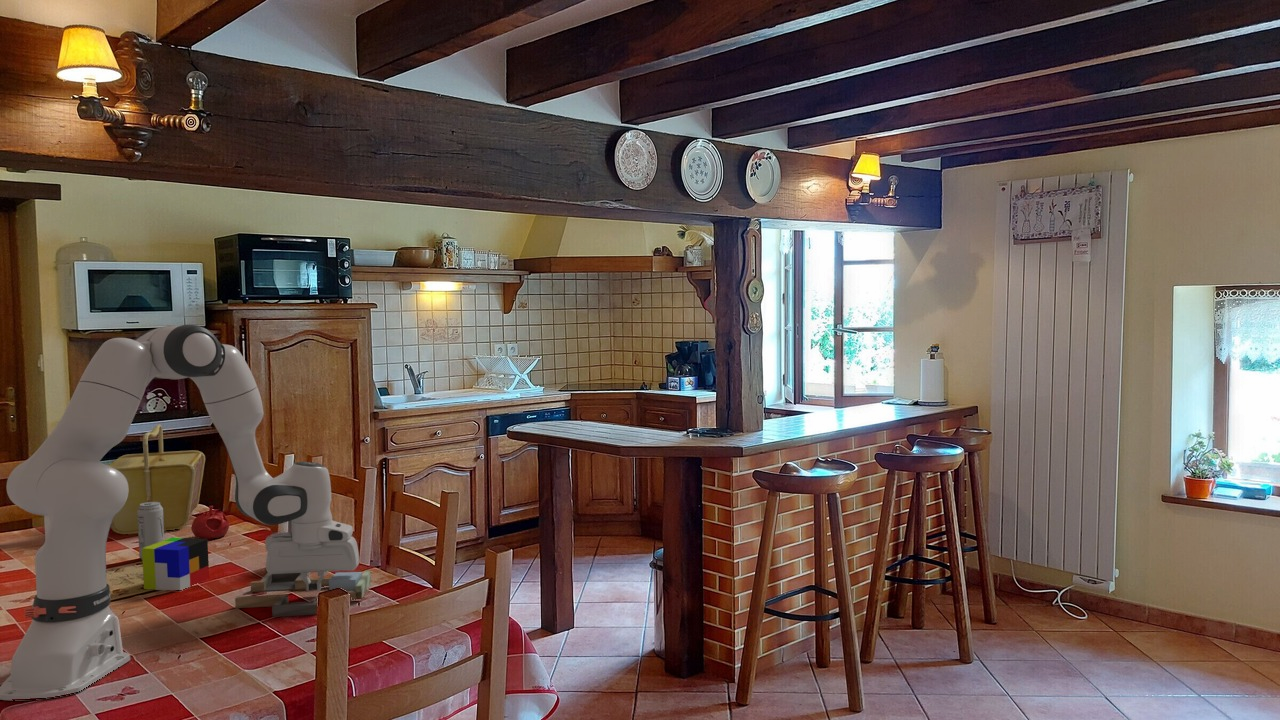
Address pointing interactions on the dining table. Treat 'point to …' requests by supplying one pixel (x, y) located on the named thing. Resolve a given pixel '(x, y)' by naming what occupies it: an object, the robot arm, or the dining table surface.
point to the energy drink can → (150, 524)
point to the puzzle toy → (175, 563)
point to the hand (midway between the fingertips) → (313, 590)
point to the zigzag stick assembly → (281, 601)
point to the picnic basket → (159, 484)
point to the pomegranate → (210, 525)
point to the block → (345, 580)
